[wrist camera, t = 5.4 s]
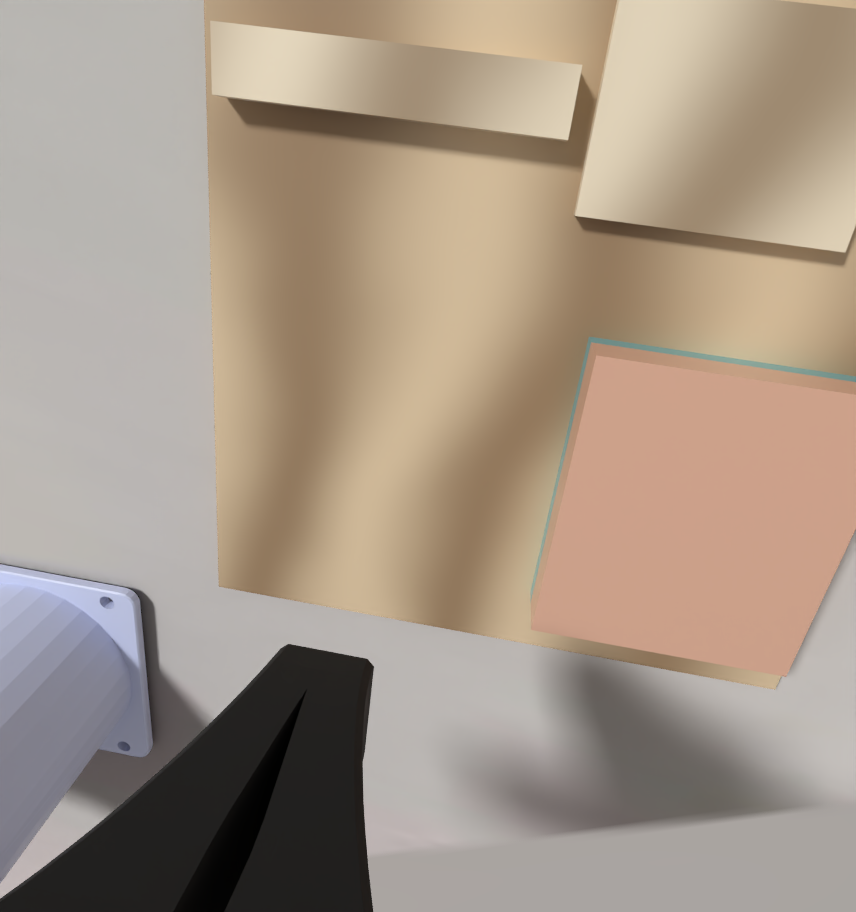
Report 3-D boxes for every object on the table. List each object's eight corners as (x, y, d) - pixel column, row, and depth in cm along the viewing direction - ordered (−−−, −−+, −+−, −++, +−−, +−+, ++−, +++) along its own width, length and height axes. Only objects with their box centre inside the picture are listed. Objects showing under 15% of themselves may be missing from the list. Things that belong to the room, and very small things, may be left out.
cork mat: (225, 577, 22) (219, 586, 21) (211, -95, 14) (201, -103, 14) (769, 677, 20) (774, 689, 20) (1081, -3, 13) (1101, -9, 12)
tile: (531, 629, 18) (786, 676, 17) (595, 355, 15) (914, 403, 14) (530, 591, 20) (763, 633, 19) (588, 336, 16) (874, 379, 16)
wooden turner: (227, 167, 16) (213, 167, 15) (224, -54, 14) (208, -66, 13) (835, 249, 15) (851, 254, 14) (920, 22, 13) (944, 13, 12)
